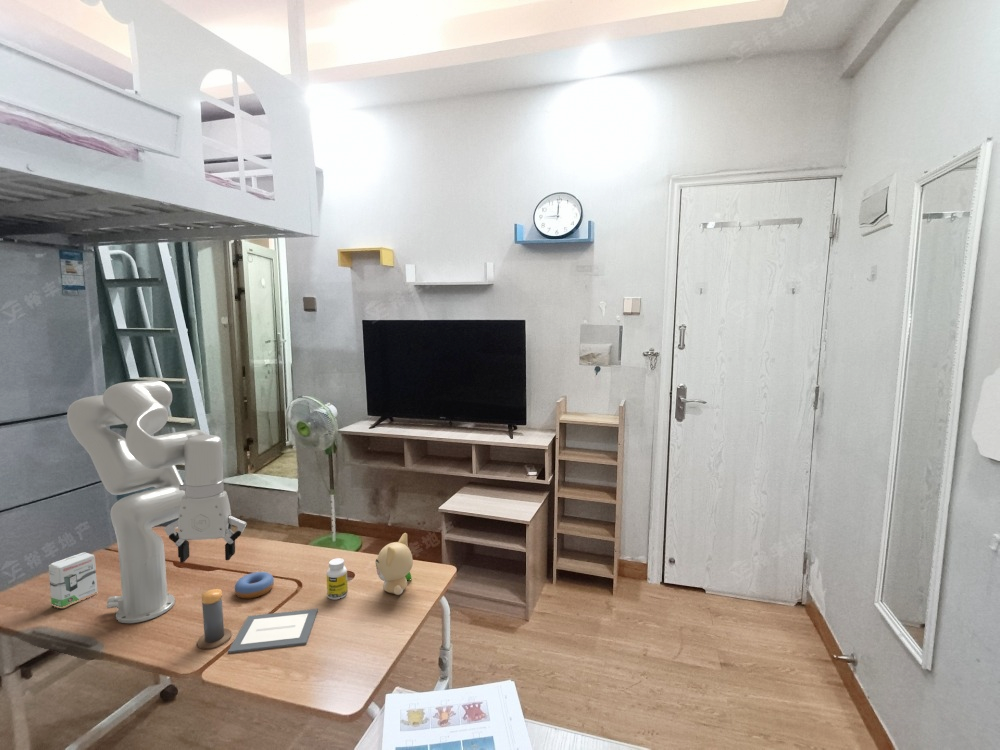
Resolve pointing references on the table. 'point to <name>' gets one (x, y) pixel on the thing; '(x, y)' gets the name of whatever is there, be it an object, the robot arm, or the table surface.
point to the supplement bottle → (337, 579)
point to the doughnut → (254, 585)
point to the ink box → (72, 579)
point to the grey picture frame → (274, 631)
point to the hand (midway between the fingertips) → (207, 558)
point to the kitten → (395, 565)
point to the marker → (213, 615)
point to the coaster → (205, 645)
